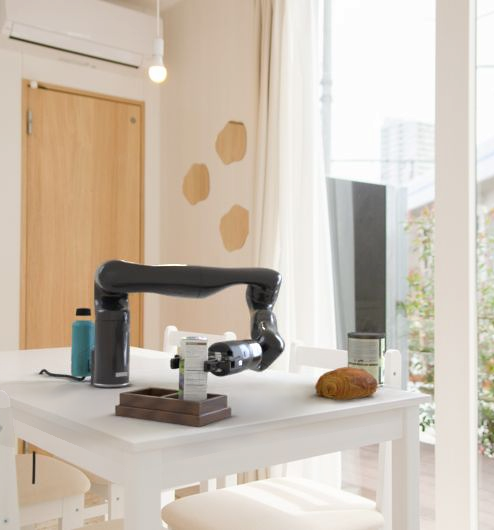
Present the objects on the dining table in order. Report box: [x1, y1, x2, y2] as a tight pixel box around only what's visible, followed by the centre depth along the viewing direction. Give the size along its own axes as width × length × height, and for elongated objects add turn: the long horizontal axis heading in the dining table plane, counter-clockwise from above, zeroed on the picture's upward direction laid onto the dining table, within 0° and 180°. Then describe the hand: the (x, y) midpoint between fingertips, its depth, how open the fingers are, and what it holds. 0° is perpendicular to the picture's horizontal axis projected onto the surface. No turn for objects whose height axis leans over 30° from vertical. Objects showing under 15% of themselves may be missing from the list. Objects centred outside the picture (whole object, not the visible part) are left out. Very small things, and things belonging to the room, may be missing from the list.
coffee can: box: [346, 331, 386, 388], centre depth 192 cm, size 10×10×14 cm
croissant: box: [315, 366, 378, 401], centre depth 173 cm, size 14×16×8 cm
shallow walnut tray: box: [114, 386, 232, 428], centre depth 145 cm, size 21×12×4 cm, turn 61°
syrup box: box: [178, 335, 209, 401], centre depth 143 cm, size 6×6×14 cm
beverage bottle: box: [70, 307, 95, 378], centre depth 192 cm, size 6×7×20 cm
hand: (188, 365), depth 141 cm, fingers closed on syrup box, 7 cm apart
